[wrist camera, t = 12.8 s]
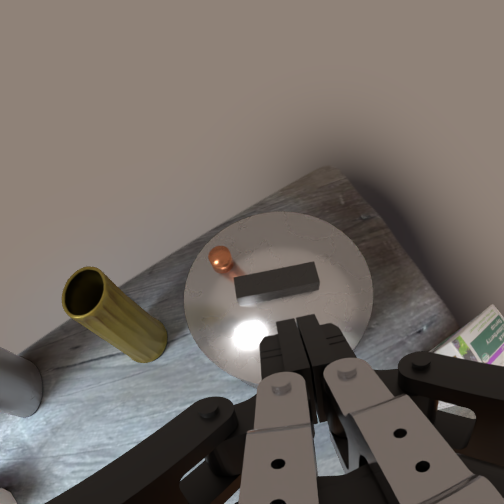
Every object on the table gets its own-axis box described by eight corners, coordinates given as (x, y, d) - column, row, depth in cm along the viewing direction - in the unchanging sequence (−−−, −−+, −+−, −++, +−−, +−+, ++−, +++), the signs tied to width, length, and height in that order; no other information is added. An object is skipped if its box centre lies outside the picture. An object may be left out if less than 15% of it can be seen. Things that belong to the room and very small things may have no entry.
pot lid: (196, 400, 25) (185, 396, 23) (184, 236, 34) (175, 221, 32) (393, 360, 24) (403, 351, 22) (340, 205, 34) (342, 188, 31)
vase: (148, 308, 40) (91, 250, 28) (177, 339, 38) (122, 288, 26) (116, 340, 38) (49, 293, 26) (143, 373, 36) (74, 337, 24)
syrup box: (432, 347, 32) (492, 297, 20) (456, 386, 29) (528, 352, 17) (395, 375, 32) (448, 338, 19) (421, 415, 29) (487, 399, 16)
